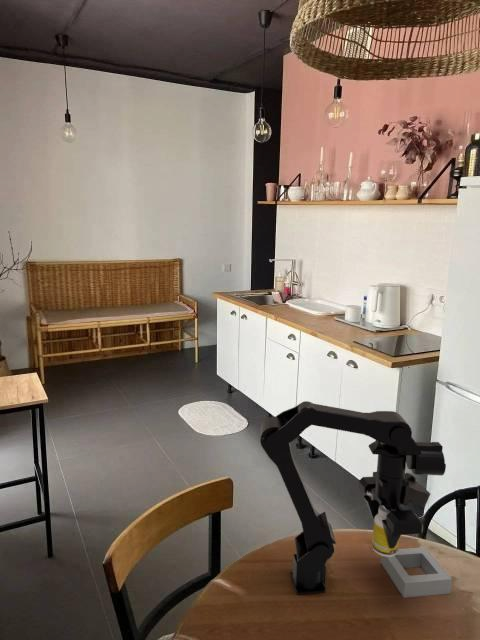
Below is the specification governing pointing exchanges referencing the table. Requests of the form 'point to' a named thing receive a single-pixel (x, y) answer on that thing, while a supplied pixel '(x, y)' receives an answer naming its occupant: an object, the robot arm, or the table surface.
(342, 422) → the robot arm
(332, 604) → the table surface
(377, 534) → the supplement bottle
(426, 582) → the well
